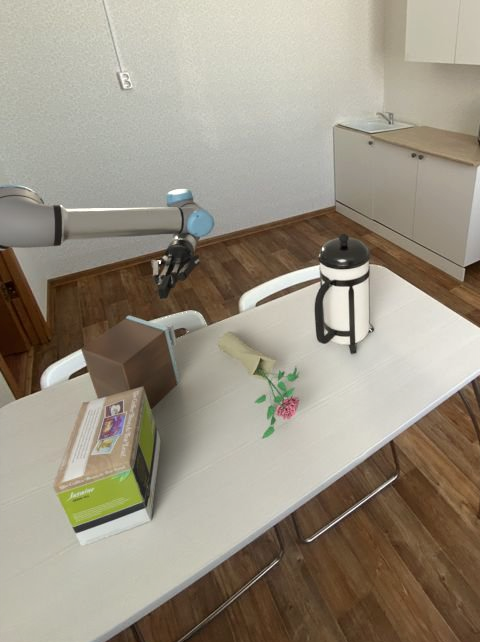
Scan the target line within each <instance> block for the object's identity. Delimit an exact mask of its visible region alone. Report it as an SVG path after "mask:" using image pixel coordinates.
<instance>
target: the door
mask: <svg viewBox="0 0 480 642" xmlns="http://www.w3.org/2000/svg"><path fill="white" fill-rule="evenodd" d="M125 319H127V320H130V321H133V322H136V323H140V324H143V325H146V326H149V327H153V328H156V329H159V330H162V331H165V335H166V339H167V343H168V348H169V352H170V356H171V360H172V365H173V369H174V373H175V377H176V381H177V384H178V383H179V382H180V381H181V379H180V375H179V370H178V366H177V362H176V358H175V352H174V349H173V348H174V347H173V346H175V345H177V343H178V342H177V336H176V333H175V328H174V324H173V323H170V324H168V325H167V327H166V326H163V325H160V324H157V323H154V322H152V321H151V322H150V321H148V320H145V319H141V318H139V317H135V316H132V315H127V316H125Z"/></svg>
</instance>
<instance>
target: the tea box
mask: <svg viewBox="0 0 480 642" xmlns="http://www.w3.org/2000/svg"><path fill="white" fill-rule="evenodd" d="M161 443H162V442H161V437H160V434H159V431H158V428H157V425H156V422H155V419H154V415H153V412H152V409H150V406H149V402H148V399H147V396H146V393H145V390H144V387H139V388H136V389H132V390H129V391H125V392H122V393H118V394H114V395H111V396H107V397H104V398H100V399H98V398H96V399H93V400H89V401H86V402H85V401H84V402H82V404H81V407H80V409H79V412H78V413H77V417H76V420H75V423H74V425H73V428H72V431H71V434H70V437H69V440H68V443H67V446H66V448H65V450H64V453H63V457H62V459H61V461H60V464H59V468H58V470H57V474H56V476H55V480H54V482H53V486H52V488H53V490H54V493H55V495H56V496H57V499H58V501H59V503H60V505H61V506H62V509H63V511H64V513H65V515H66V517H67V518H68V521H69V524H70V526H71V527H72V530H73V531H74V534H75V536H76V538H77V540H78V542H79V544H80V546H81V547H84V546H87V545H90V544H93V543H95V542H98V541H101V540H104V539H106V538H110V537H112V536H116V535H117V534H120V533H123V532H126V531H128V530H131V529H134V528H136V527H139V526H141V525H144V524H147V523H149V522H151V521H152V516H153V507H154V499H155V492H156V484H157V475H158V467H159V460H160V451H161Z"/></svg>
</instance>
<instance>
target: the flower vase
mask: <svg viewBox="0 0 480 642" xmlns="http://www.w3.org/2000/svg"><path fill="white" fill-rule="evenodd" d="M217 345H218V348H219V350H221V352H224V353H225V354H228V355H229V356H231V357H232V358H234V359H237V360H238V361H239V362H240V363H241V364H242V366H243V367H244V369H245V371H246V372H247V374H248V376H249V377H251V378H254V379H255V378H256V379H259V380H264V381H267V383H268V388H269V390H270V391H271V394H269V396H270V397H269V398H270V399H269V400H270V401H272V397H271V395H272V396H273V402H274V404H278V405H279V406H277V407H276V405H274V406H273V405H272V403H270V404H271V405H269V406H268V407H267V412H266V420H267V421H268V420H270V424H269V426H268V428H267V429H266V430H265V432H264V433H263V435H262V437H261V439H266V438H269V437H270V436H272V435H273V434H274V432H275V428H274V424H275V423H276V422H277V419H276V418H275V416H276V417H281V418H282V420H283V421H284V420H287V421H288V420H291V419H292V418H293V417H294V416H295V414H296V412H297V409H298V407H299V402H300V398H299V397H298V396H297V397H296V396H294V391H295V387H292V388H289V389H287V385H286V383H288V382H290V383H292V382H294V381H296V380H297V379H299V378H300V376H299V374H300V371H298V367H297V366H295V367H294V370H293V373H288V374H287V375H286V376H284V375H285V373H286V371H281V369H279V370H278V373H275V375H277V376H273V377H272V378H271V380H270V379H269V376H270V375H273V373H271V372H272V369H273V367H274V364H275V362H276V359H274V358H272V357H269V356H267V355H265V354H264V353H262V352H259V351H257V350H255V349H253V348H251V347H249V346H248V345H247V344H246V343H245V342H244V341H243V340H242V339H241V338H240V337H239V336H238V335H237V334H235V333H234V332H233V331H227V332H224V333H223V334H222V335H221V336H220V337H219V340H218V343H217ZM297 372H298V373H297ZM273 378H274V379H275V380H276V381H277V382H278V383H277V384H276V385H275V384H274V383H273V382H272V380H273ZM282 378H286V379H284V380H282ZM273 388H274V390H275V391H276V392H277V394H278V395H275V393H274V390H273ZM280 391H281V392H283V393H282V394H281V392H280ZM267 395H268V393H266V394H265V393H264V394H262V395H261V396H259V397H258V398H257V399H256V400H255V401H254V404H262V403H264V402H266V400H267ZM275 407H276V409H275ZM275 413H276V414H275ZM270 418H271V419H270Z"/></svg>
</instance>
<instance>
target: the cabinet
mask: <svg viewBox="0 0 480 642" xmlns="http://www.w3.org/2000/svg"><path fill="white" fill-rule="evenodd" d="M80 351H81V352H82V356H83V359H84V361H85V365H86V368H87V371H88V374H89V377H90V380H91V383H92V385H93V388H94V392H95V395H96V397H97V398H96V399H100V398H104V397H107V396H111V395H114V394H118V393H122V392H125V391H129V390H132V389H136V388H139V387H144V390H145V393H146V396H147V399H148V402H149V406H150V409H151V410H152V409H154V407H155V406H157V404H159V403H160V401H162V400H163V399H164V398H165V397H166V396H167V395H168V394H169V393H170V392H171V391H172V390H173V389H174V388H175V387H176V386H177V385H178V383H177V381H176V377H175V373H174V369H173V365H172V360H171V356H170V352H169V348H168V343H167V339H166V335H165V331H162V330H159V329H156V328H153V327H149V326H146V325H143V324H140V323H136V322H133V321H130V320H127V319H126V318H123V319H122V320H121V321H120V322H117V323H116V324H114V325H113V326H112V327H111V328H108V330H106V331H104V332H103V333H102V334H100V335H99V336H97V337H96V338H94V339H93V340H91V341H90V342H88V343H86V344H85V345H83V346H82V347H81V348H80Z"/></svg>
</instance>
